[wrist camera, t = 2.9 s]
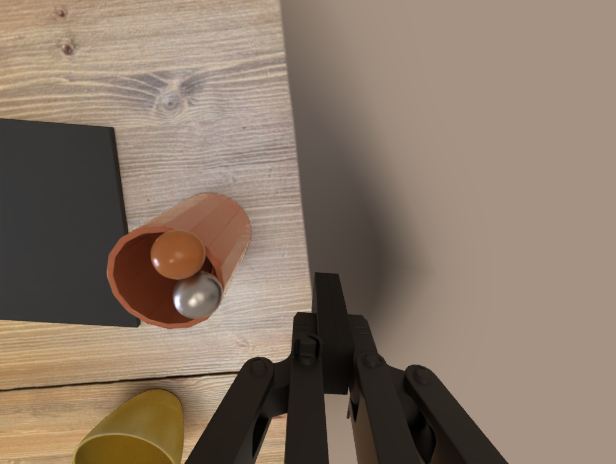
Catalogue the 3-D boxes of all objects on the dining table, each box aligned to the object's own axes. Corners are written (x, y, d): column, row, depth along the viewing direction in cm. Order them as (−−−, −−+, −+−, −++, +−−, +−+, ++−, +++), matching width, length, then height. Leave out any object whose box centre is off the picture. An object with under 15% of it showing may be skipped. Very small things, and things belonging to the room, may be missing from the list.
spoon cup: (225, 178, 26) (180, 206, 17) (265, 245, 28) (244, 302, 19) (160, 213, 27) (82, 258, 18) (202, 274, 29) (154, 343, 20)
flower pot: (155, 444, 37) (121, 514, 30) (99, 393, 34) (48, 458, 27) (218, 415, 36) (198, 481, 29) (165, 359, 33) (128, 418, 26)
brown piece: (218, 193, 26) (179, 227, 14) (235, 219, 27) (210, 272, 15) (191, 208, 26) (129, 253, 14) (208, 234, 27) (163, 297, 15)
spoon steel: (216, 227, 27) (203, 271, 16) (232, 251, 28) (231, 310, 16) (189, 242, 27) (156, 299, 15) (206, 266, 28) (187, 337, 16)
